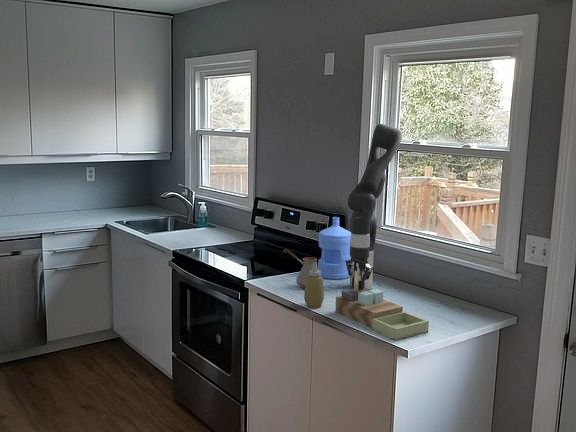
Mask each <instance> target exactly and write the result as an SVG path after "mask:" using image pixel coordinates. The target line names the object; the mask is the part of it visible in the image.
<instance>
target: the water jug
mask: <svg viewBox="0 0 576 432" xmlns="http://www.w3.org/2000/svg"><path fill="white" fill-rule="evenodd" d="M350 237H351V231H349V230H347V229H345V228H343V227H341V226H340V217H338V216H333V217H332V225H331V226H330V227H329V226H328V227H327V228H324V229H322V230H320V231H319V234H318V247H319V248H320V249H321V257H320V258H319V259H317V261H318V262H317V267H318V270H319V271H321V275H320V276H321V277H323V279H327V280H344V279H345V280H346V279H348V278H350V275H349V274H348V270H347V266H346V260H350V259H351V257H350Z"/></svg>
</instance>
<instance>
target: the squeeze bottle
mask: <svg viewBox="0 0 576 432" xmlns="http://www.w3.org/2000/svg"><path fill="white" fill-rule="evenodd" d="M320 275H321V271H319V270H318V262H317V261H316V262H314V263H313V267H312V270H310V271H309V276H307V278H306V286H305V289H304V295H303V299H304V302H305V305H306V307H307V308H311V309H318V308H321V307H322V305H323V302H324V299H325V292H324V280H323V279H324V278H323V277H321V276H320Z"/></svg>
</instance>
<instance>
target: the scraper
mask: <svg viewBox="0 0 576 432" xmlns="http://www.w3.org/2000/svg"><path fill="white" fill-rule="evenodd" d="M361 272H363V271H361ZM358 284H359V275H358V274H357V270H355V277H354V289H353V288H351V289H347V290H342V291H341V296H342V298H344V299H346V300H349V301H351V302H352V301H357V300H358V293H359V292H364V291H367V292H368V291H369V290H371V289H367V288H364V289H363V290H359V289H358Z"/></svg>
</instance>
